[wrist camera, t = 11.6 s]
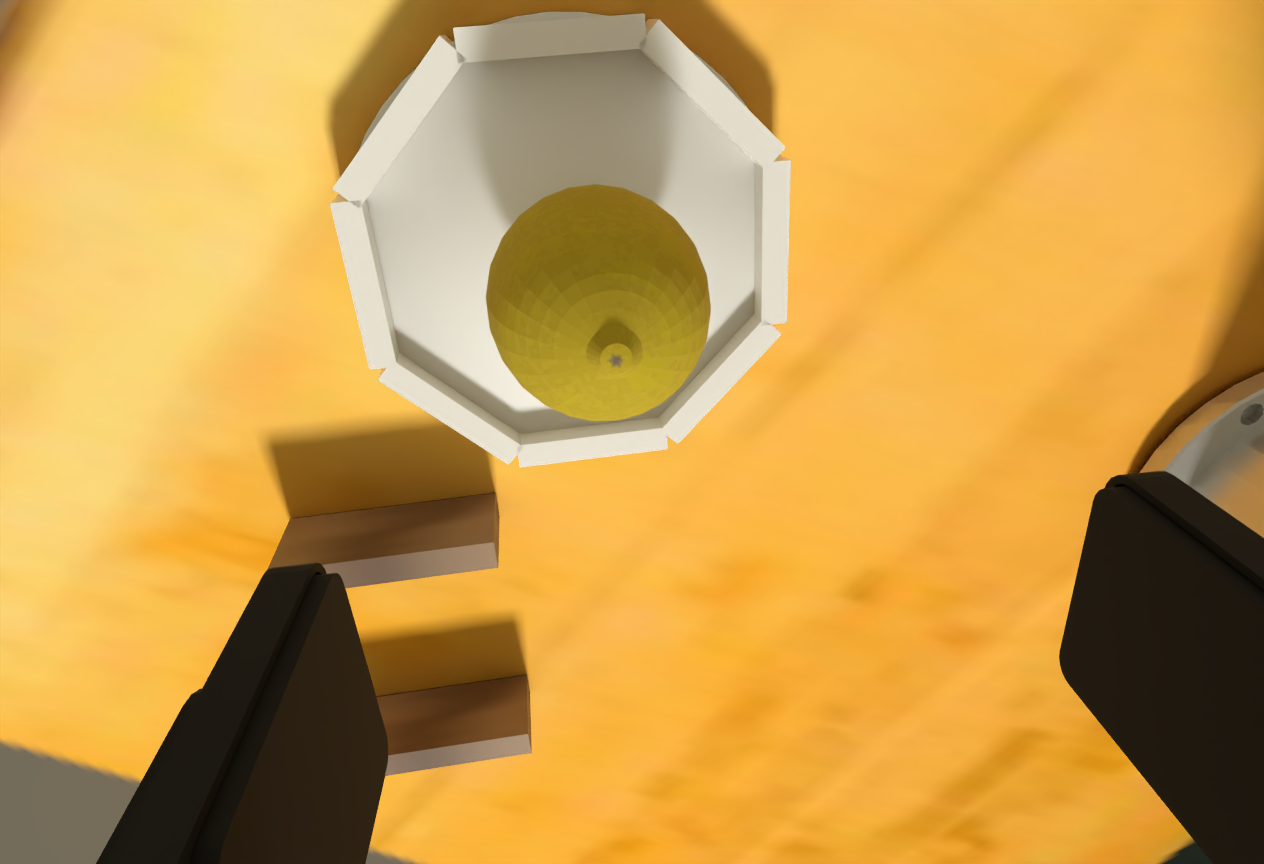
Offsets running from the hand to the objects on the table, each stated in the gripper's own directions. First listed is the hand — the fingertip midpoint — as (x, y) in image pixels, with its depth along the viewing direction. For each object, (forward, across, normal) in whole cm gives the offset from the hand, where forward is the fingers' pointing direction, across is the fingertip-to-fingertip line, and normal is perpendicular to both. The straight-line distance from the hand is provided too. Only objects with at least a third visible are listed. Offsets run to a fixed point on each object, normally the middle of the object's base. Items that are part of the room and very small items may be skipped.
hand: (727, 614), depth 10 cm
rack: (+17, +8, +12) cm, 22 cm away
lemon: (+16, +1, -1) cm, 16 cm away
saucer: (+17, +2, -1) cm, 17 cm away
